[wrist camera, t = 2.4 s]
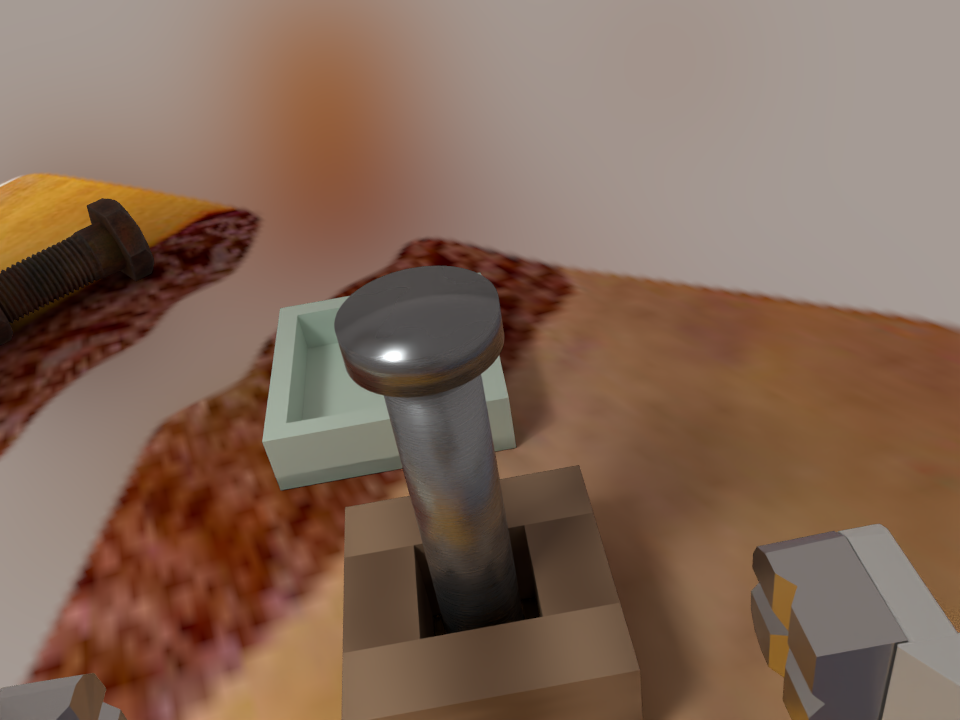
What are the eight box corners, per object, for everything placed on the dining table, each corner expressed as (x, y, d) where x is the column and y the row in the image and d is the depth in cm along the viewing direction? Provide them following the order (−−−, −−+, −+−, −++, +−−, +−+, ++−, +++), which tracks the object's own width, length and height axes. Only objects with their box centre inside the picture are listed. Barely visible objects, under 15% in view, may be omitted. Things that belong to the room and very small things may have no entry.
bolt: (-66, 391, 55) (149, 277, 62) (-68, 388, 51) (164, 266, 58) (-124, 311, 54) (102, 204, 61) (-131, 300, 50) (113, 186, 57)
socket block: (370, 792, 29) (341, 724, 26) (367, 576, 36) (345, 507, 33) (643, 742, 29) (639, 670, 26) (586, 536, 36) (579, 464, 34)
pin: (435, 715, 30) (332, 373, 22) (427, 612, 34) (335, 281, 25) (560, 692, 30) (509, 341, 22) (539, 591, 34) (488, 254, 25)
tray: (280, 490, 41) (262, 441, 39) (294, 352, 50) (280, 308, 48) (516, 447, 41) (508, 397, 39) (488, 318, 50) (480, 272, 48)
